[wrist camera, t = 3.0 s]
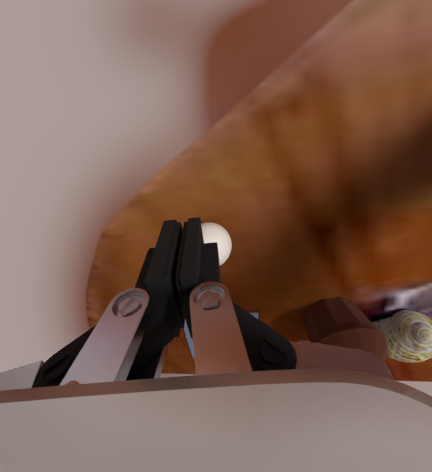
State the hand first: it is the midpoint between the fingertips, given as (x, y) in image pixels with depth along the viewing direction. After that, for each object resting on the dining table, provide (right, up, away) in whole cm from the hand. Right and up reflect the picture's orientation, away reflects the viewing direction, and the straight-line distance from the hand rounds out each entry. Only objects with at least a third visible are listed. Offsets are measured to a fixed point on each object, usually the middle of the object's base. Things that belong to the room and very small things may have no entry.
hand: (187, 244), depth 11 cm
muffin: (+22, -14, +29) cm, 39 cm away
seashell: (+35, -16, +31) cm, 49 cm away
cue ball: (0, -1, +16) cm, 16 cm away
